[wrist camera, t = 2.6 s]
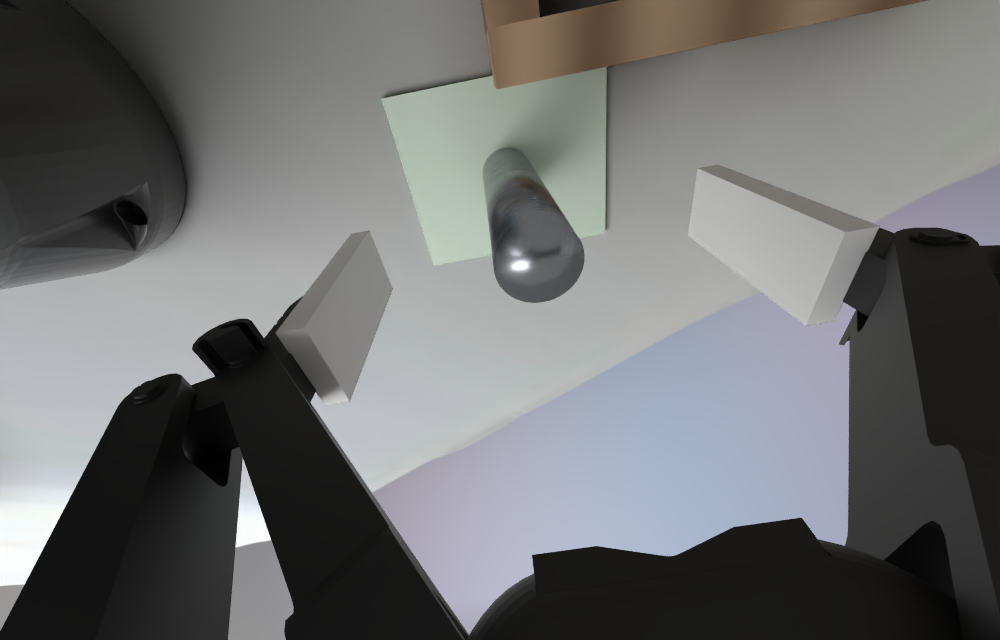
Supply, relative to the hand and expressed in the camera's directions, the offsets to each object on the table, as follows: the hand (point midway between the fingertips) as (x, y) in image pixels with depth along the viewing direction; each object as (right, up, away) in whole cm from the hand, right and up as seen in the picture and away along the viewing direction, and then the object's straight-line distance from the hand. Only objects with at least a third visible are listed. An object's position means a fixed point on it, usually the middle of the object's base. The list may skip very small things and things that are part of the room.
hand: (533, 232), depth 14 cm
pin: (-1, +5, +7) cm, 9 cm away
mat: (-1, +6, +7) cm, 9 cm away
